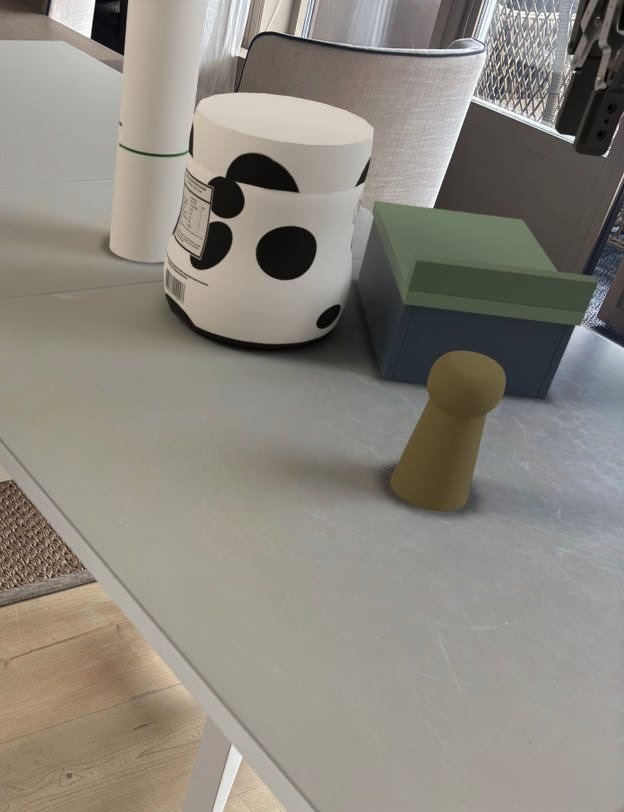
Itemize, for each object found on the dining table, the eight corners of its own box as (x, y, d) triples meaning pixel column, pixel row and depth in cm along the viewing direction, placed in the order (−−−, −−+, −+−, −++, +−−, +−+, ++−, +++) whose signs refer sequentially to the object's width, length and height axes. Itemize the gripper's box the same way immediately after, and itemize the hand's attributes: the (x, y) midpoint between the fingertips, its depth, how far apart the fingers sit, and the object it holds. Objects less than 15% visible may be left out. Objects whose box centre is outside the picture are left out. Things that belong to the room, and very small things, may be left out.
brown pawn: (371, 488, 73) (412, 352, 66) (417, 464, 77) (461, 332, 69) (437, 527, 70) (488, 389, 63) (482, 500, 74) (535, 366, 66)
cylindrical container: (168, 243, 107) (201, -30, 90) (181, 269, 102) (218, -16, 85) (104, 240, 105) (125, -38, 89) (114, 266, 100) (137, -23, 83)
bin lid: (518, 231, 98) (532, 193, 96) (580, 326, 81) (598, 282, 79) (371, 213, 98) (381, 174, 95) (403, 304, 81) (416, 260, 78)
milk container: (361, 319, 97) (413, 121, 85) (298, 384, 85) (348, 165, 73) (205, 271, 102) (233, 78, 90) (125, 327, 90) (145, 112, 78)
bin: (491, 305, 103) (517, 232, 98) (542, 405, 87) (576, 324, 82) (355, 289, 102) (374, 214, 97) (381, 385, 86) (405, 302, 81)
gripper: (815, -160, 51) (665, 182, 63) (712, -172, 62) (600, 123, 73) (675, -179, 51) (551, 168, 62) (596, -188, 62) (502, 110, 73)
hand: (578, 142), depth 68 cm, fingers open, 4 cm apart
